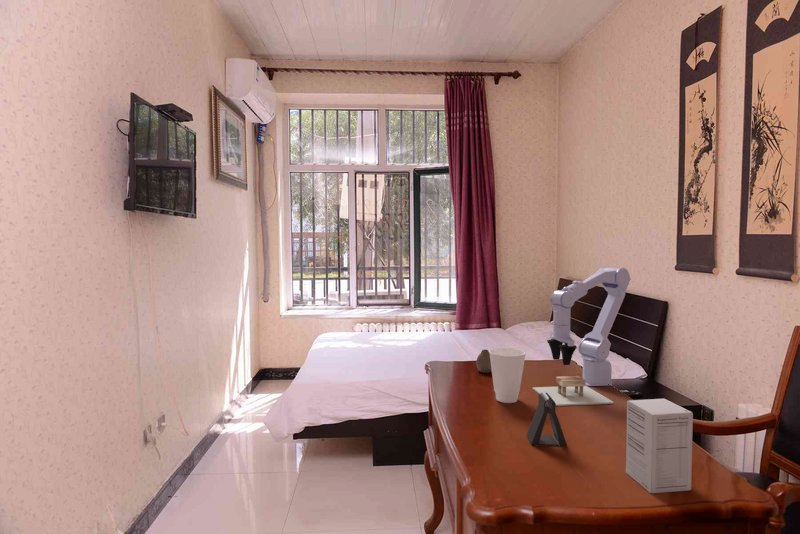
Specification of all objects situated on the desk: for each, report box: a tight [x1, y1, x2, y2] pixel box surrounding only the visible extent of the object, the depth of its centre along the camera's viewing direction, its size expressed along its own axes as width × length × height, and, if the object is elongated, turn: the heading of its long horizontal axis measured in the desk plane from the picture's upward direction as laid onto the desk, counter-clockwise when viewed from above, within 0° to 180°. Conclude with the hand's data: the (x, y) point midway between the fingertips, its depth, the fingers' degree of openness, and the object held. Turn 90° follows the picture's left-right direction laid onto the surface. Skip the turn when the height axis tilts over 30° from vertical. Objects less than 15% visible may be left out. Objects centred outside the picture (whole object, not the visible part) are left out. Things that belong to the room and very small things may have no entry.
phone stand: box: [526, 392, 568, 447], centre depth 124 cm, size 9×6×12 cm, turn 86°
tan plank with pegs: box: [555, 375, 586, 397], centre depth 160 cm, size 5×8×6 cm, turn 96°
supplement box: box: [625, 398, 694, 494], centre depth 103 cm, size 10×9×17 cm
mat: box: [531, 385, 615, 407], centre depth 161 cm, size 20×18×1 cm
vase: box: [475, 349, 492, 374], centre depth 191 cm, size 7×7×9 cm
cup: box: [488, 347, 527, 404], centre depth 156 cm, size 12×12×16 cm
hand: (561, 362), depth 169 cm, fingers open, 7 cm apart
